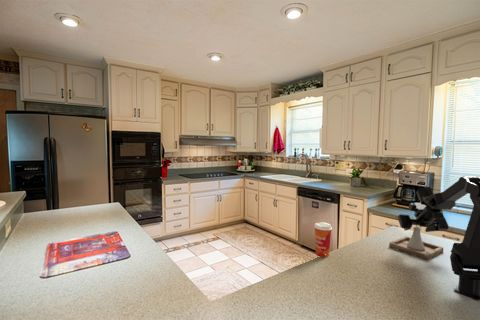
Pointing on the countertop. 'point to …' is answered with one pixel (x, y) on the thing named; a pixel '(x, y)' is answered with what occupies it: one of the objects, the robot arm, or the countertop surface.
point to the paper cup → (322, 238)
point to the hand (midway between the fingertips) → (415, 230)
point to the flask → (416, 240)
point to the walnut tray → (425, 254)
